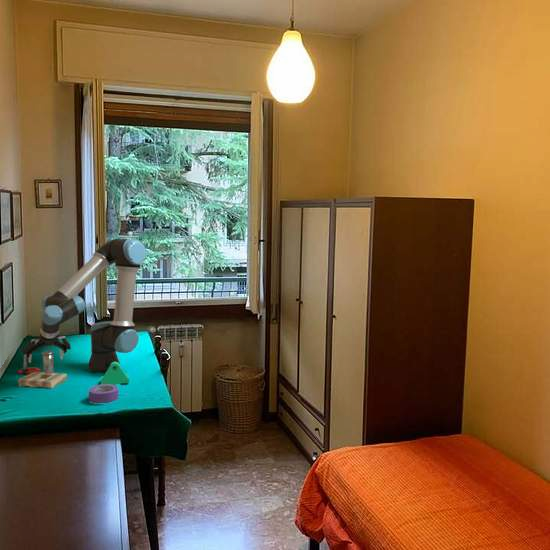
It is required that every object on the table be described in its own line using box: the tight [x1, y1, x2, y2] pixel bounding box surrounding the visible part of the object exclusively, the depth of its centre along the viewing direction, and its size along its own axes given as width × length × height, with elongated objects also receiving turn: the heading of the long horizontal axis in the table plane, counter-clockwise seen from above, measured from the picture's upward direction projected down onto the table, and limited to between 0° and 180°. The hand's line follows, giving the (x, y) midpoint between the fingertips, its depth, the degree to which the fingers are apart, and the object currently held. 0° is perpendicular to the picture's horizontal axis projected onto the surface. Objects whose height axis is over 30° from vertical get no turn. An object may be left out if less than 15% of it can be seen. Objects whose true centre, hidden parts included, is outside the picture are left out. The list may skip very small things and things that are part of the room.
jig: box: [18, 371, 68, 389], centre depth 245 cm, size 16×12×3 cm
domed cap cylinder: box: [41, 350, 55, 373], centre depth 257 cm, size 5×5×11 cm
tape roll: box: [88, 384, 120, 404], centre depth 224 cm, size 12×12×5 cm
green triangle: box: [100, 362, 130, 385], centre depth 246 cm, size 12×8×10 cm, turn 105°
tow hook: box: [17, 354, 41, 375], centre depth 262 cm, size 8×13×9 cm
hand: (45, 358), depth 251 cm, fingers open, 13 cm apart
